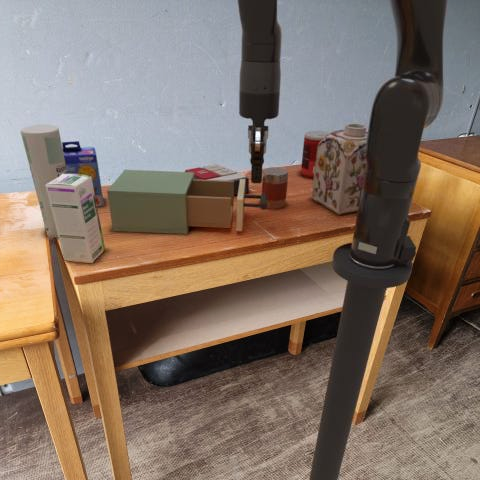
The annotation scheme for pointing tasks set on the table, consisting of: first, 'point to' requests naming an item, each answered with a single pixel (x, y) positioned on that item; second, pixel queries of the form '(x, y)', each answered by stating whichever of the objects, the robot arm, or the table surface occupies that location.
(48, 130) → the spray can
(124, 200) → the cabinet
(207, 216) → the drawer
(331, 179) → the decorative jar
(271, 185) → the tin
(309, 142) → the canned food
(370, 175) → the robot arm
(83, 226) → the syrup box
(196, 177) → the red and beige packet
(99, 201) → the ink cartridge box
